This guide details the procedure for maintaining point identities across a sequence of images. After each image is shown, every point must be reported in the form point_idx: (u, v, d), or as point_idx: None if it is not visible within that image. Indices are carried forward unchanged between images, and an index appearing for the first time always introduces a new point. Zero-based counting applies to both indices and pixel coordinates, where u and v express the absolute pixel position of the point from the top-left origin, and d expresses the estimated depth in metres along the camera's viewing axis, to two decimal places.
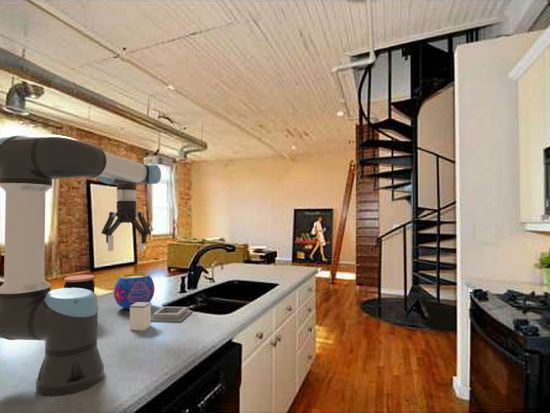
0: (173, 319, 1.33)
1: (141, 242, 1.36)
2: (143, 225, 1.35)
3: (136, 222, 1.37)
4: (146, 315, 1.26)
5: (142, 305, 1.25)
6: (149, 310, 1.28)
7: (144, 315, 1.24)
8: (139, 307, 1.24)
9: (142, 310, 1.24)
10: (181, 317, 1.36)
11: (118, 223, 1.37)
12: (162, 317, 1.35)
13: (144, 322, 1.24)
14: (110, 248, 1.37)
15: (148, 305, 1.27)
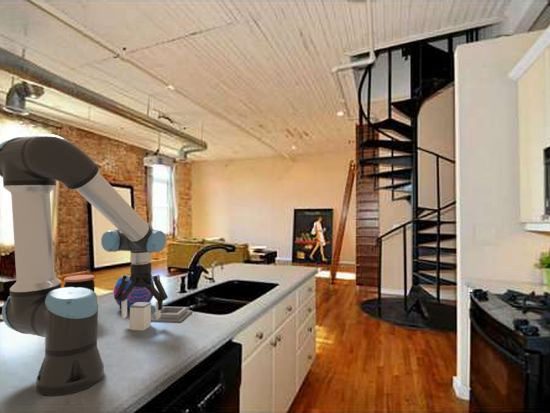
0: (173, 319, 1.33)
1: (157, 309, 1.25)
2: (159, 290, 1.25)
3: (152, 286, 1.27)
4: (146, 315, 1.26)
5: (142, 305, 1.25)
6: (149, 310, 1.28)
7: (144, 315, 1.24)
8: (139, 307, 1.24)
9: (142, 310, 1.24)
10: (181, 317, 1.36)
11: (132, 287, 1.27)
12: (162, 317, 1.35)
13: (144, 322, 1.24)
14: (124, 314, 1.27)
15: (148, 305, 1.27)
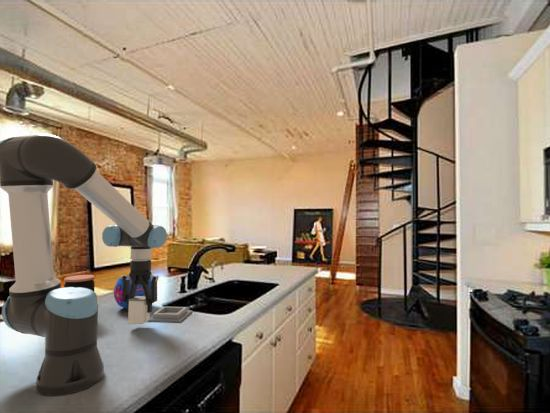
0: (173, 319, 1.33)
1: (146, 311, 1.25)
2: (152, 292, 1.25)
3: (147, 286, 1.26)
4: None
5: (141, 299, 1.24)
6: None
7: (143, 309, 1.23)
8: (138, 300, 1.23)
9: (141, 304, 1.23)
10: (181, 317, 1.36)
11: (135, 286, 1.26)
12: (162, 317, 1.35)
13: (143, 316, 1.24)
14: None
15: None
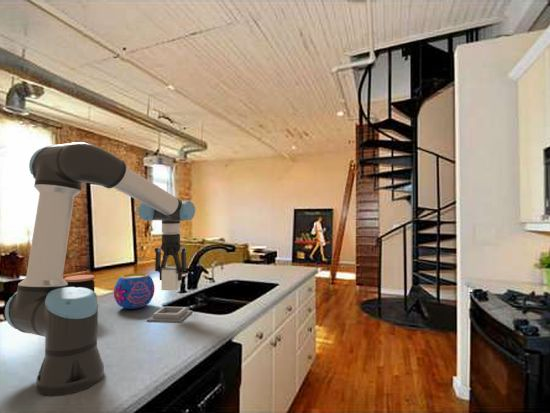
0: (173, 319, 1.33)
1: (177, 279, 1.39)
2: (182, 262, 1.39)
3: (177, 257, 1.40)
4: None
5: (172, 268, 1.38)
6: None
7: (174, 277, 1.38)
8: (170, 269, 1.37)
9: (173, 272, 1.37)
10: (181, 317, 1.36)
11: (166, 257, 1.40)
12: (162, 317, 1.35)
13: (174, 283, 1.38)
14: None
15: None
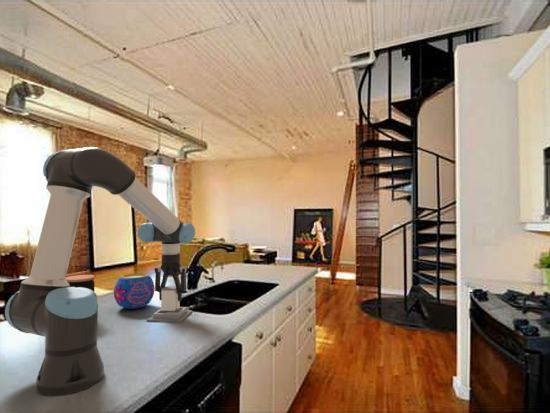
0: (173, 319, 1.33)
1: (177, 299, 1.39)
2: (182, 282, 1.38)
3: (177, 277, 1.40)
4: None
5: (172, 288, 1.38)
6: None
7: (174, 297, 1.37)
8: (170, 290, 1.37)
9: (173, 293, 1.37)
10: (181, 317, 1.36)
11: (166, 277, 1.40)
12: (162, 317, 1.35)
13: (174, 303, 1.38)
14: None
15: None
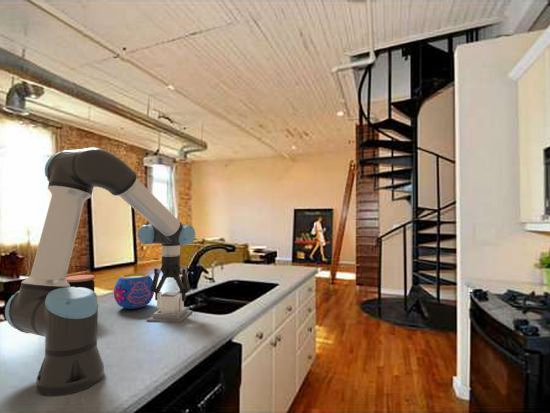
0: (173, 319, 1.33)
1: (181, 300, 1.39)
2: (185, 283, 1.38)
3: (179, 278, 1.40)
4: (176, 304, 1.39)
5: (172, 294, 1.38)
6: (178, 299, 1.41)
7: (174, 303, 1.37)
8: (169, 296, 1.37)
9: (172, 299, 1.37)
10: (181, 317, 1.36)
11: (164, 278, 1.40)
12: (162, 317, 1.35)
13: (174, 309, 1.37)
14: (159, 305, 1.40)
15: (177, 294, 1.40)
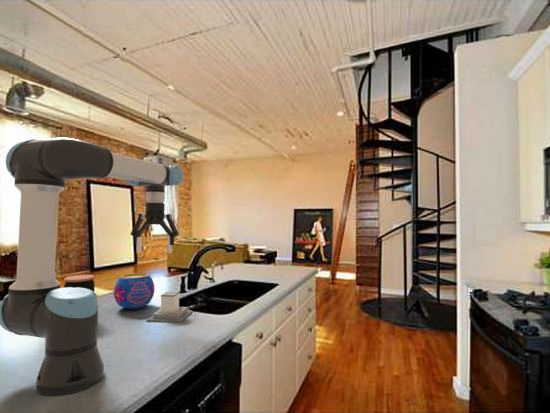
0: (173, 319, 1.33)
1: (169, 244, 1.37)
2: (171, 227, 1.37)
3: (164, 224, 1.39)
4: (176, 304, 1.39)
5: (172, 294, 1.38)
6: (178, 299, 1.41)
7: (174, 303, 1.37)
8: (169, 296, 1.37)
9: (172, 299, 1.37)
10: (181, 317, 1.36)
11: (147, 225, 1.39)
12: (162, 317, 1.35)
13: (174, 309, 1.37)
14: (139, 249, 1.39)
15: (177, 294, 1.40)
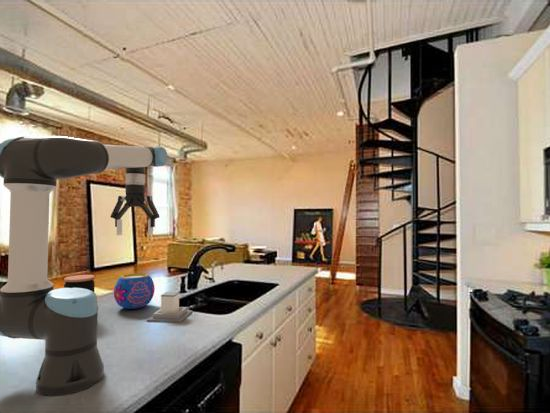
0: (173, 319, 1.33)
1: (150, 226, 1.36)
2: (152, 209, 1.36)
3: (145, 206, 1.38)
4: (176, 304, 1.39)
5: (172, 294, 1.38)
6: (178, 299, 1.41)
7: (174, 303, 1.37)
8: (169, 296, 1.37)
9: (172, 299, 1.37)
10: (181, 317, 1.36)
11: (127, 207, 1.38)
12: (162, 317, 1.35)
13: (174, 309, 1.37)
14: (119, 232, 1.38)
15: (177, 294, 1.40)
